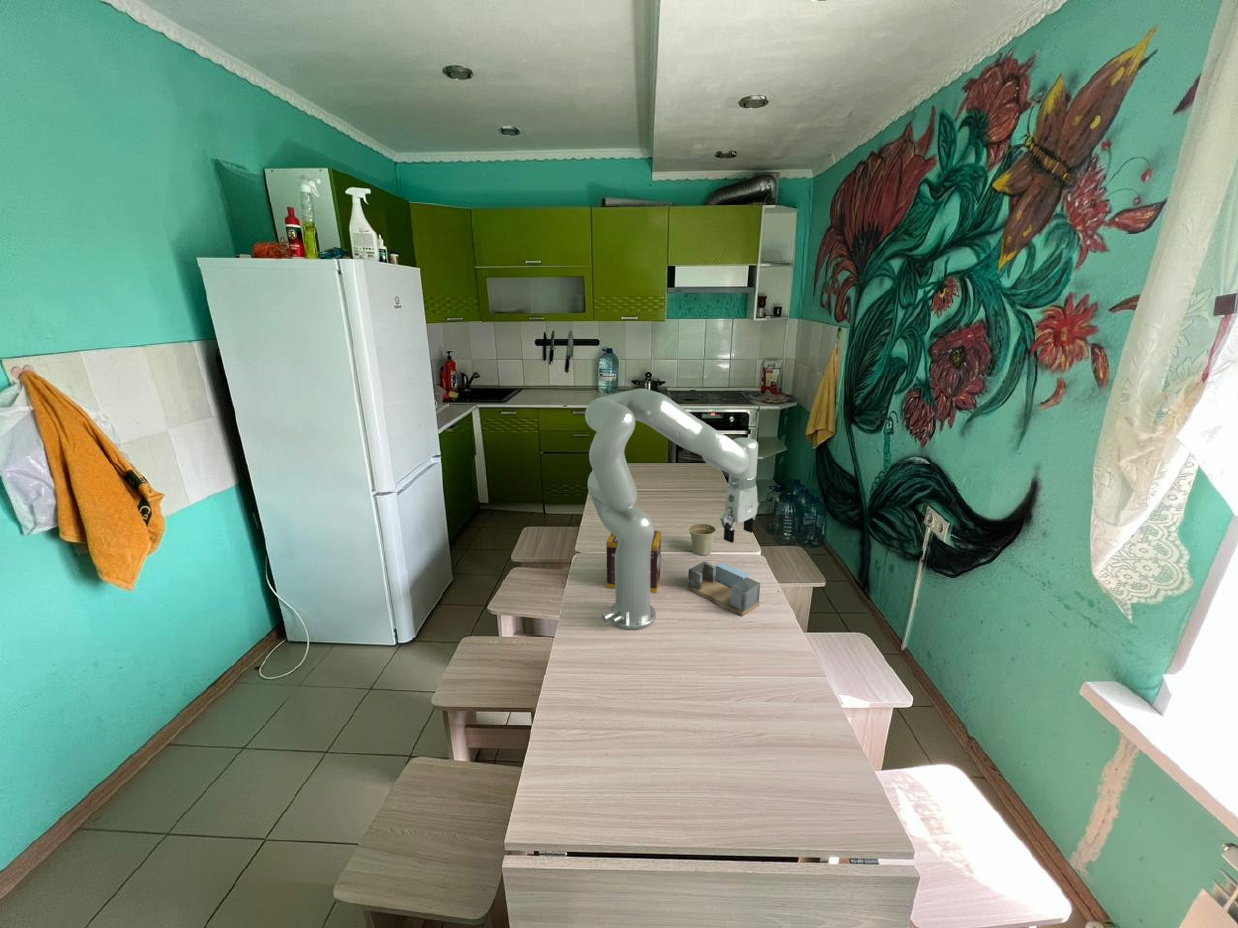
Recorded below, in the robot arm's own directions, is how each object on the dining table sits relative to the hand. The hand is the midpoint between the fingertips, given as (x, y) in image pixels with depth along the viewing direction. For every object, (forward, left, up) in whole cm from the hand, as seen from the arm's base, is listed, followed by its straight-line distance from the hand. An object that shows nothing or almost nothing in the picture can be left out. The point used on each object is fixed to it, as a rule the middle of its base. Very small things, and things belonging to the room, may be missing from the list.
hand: (738, 536), depth 153 cm
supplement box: (-21, +22, -17) cm, 35 cm away
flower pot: (+10, +21, -17) cm, 29 cm away
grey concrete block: (-8, -9, -15) cm, 19 cm away
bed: (-8, -1, -16) cm, 18 cm away
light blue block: (0, +1, -17) cm, 17 cm away
